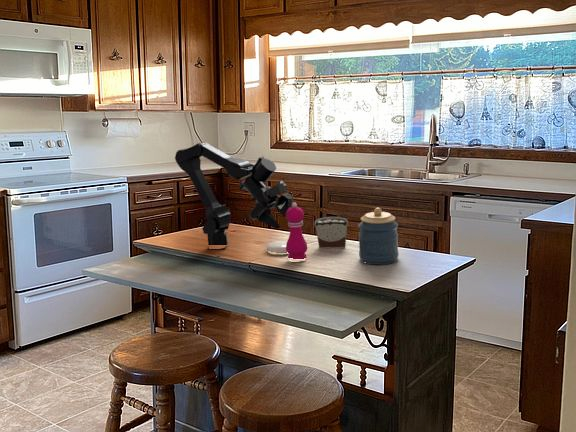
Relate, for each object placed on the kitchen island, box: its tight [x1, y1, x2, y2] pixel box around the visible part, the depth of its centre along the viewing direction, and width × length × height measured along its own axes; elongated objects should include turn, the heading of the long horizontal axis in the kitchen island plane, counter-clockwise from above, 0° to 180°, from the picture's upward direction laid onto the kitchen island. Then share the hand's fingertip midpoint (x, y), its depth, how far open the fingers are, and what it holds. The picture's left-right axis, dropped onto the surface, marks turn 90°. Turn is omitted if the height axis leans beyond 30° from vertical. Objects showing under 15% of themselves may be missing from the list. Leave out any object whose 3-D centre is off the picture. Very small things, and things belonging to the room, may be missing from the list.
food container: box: [313, 216, 350, 249], centre depth 231 cm, size 12×6×10 cm, turn 84°
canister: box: [357, 207, 399, 265], centre depth 212 cm, size 13×13×18 cm
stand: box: [266, 240, 288, 253], centre depth 229 cm, size 11×11×2 cm
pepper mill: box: [285, 201, 308, 259], centre depth 215 cm, size 7×7×20 cm
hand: (287, 224), depth 217 cm, fingers open, 9 cm apart
